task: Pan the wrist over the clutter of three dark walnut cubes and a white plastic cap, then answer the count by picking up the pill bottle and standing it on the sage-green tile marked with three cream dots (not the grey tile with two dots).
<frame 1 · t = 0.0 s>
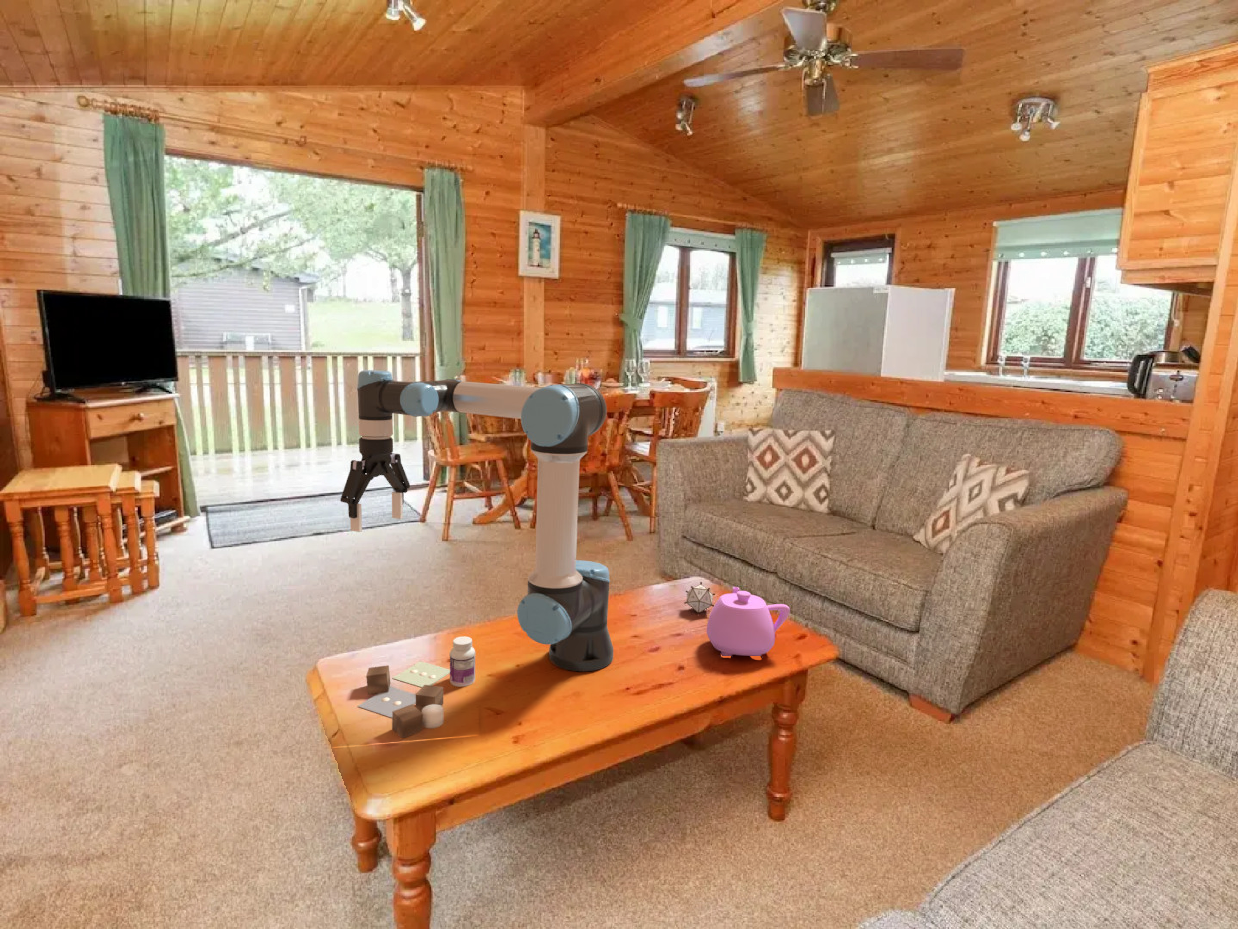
hand: (377, 524, 165), 28 cm above the table, fingers open, 13 cm apart
white cap: (432, 724, 133), on the table
pad two: (391, 703, 139), on the table
cube a: (429, 709, 138), on the table
pill bottle: (462, 682, 149), on the table
cube b: (402, 717, 131), point 2 cm above the table, tilted 93°
cube c: (379, 688, 144), on the table, tilted 6°, touching pad two
pad three: (423, 675, 151), on the table
game die: (698, 612, 194), on the table
teapot: (744, 647, 172), on the table
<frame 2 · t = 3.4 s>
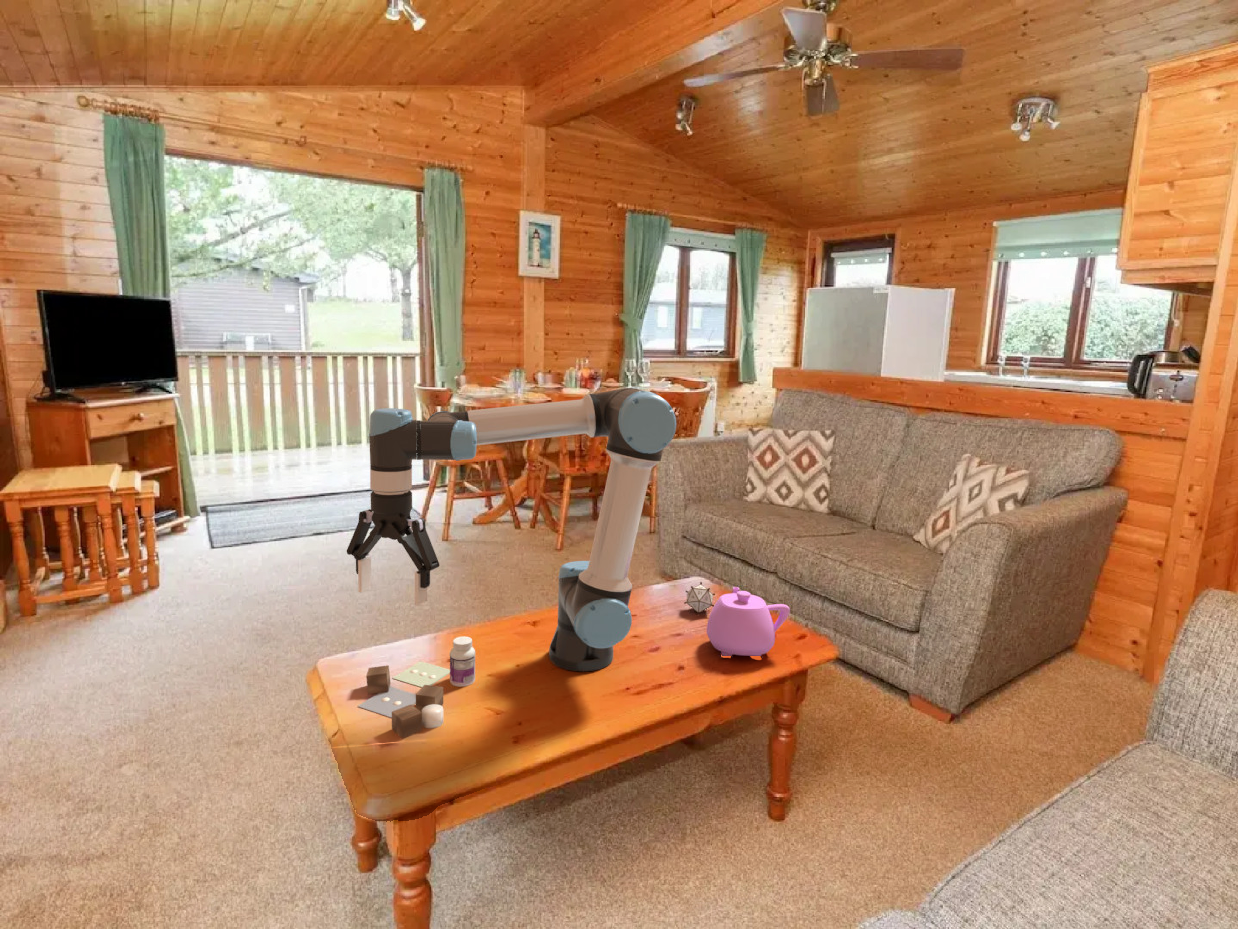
hand: (392, 596, 135), 23 cm above the table, fingers open, 13 cm apart
nothing on the table moved.
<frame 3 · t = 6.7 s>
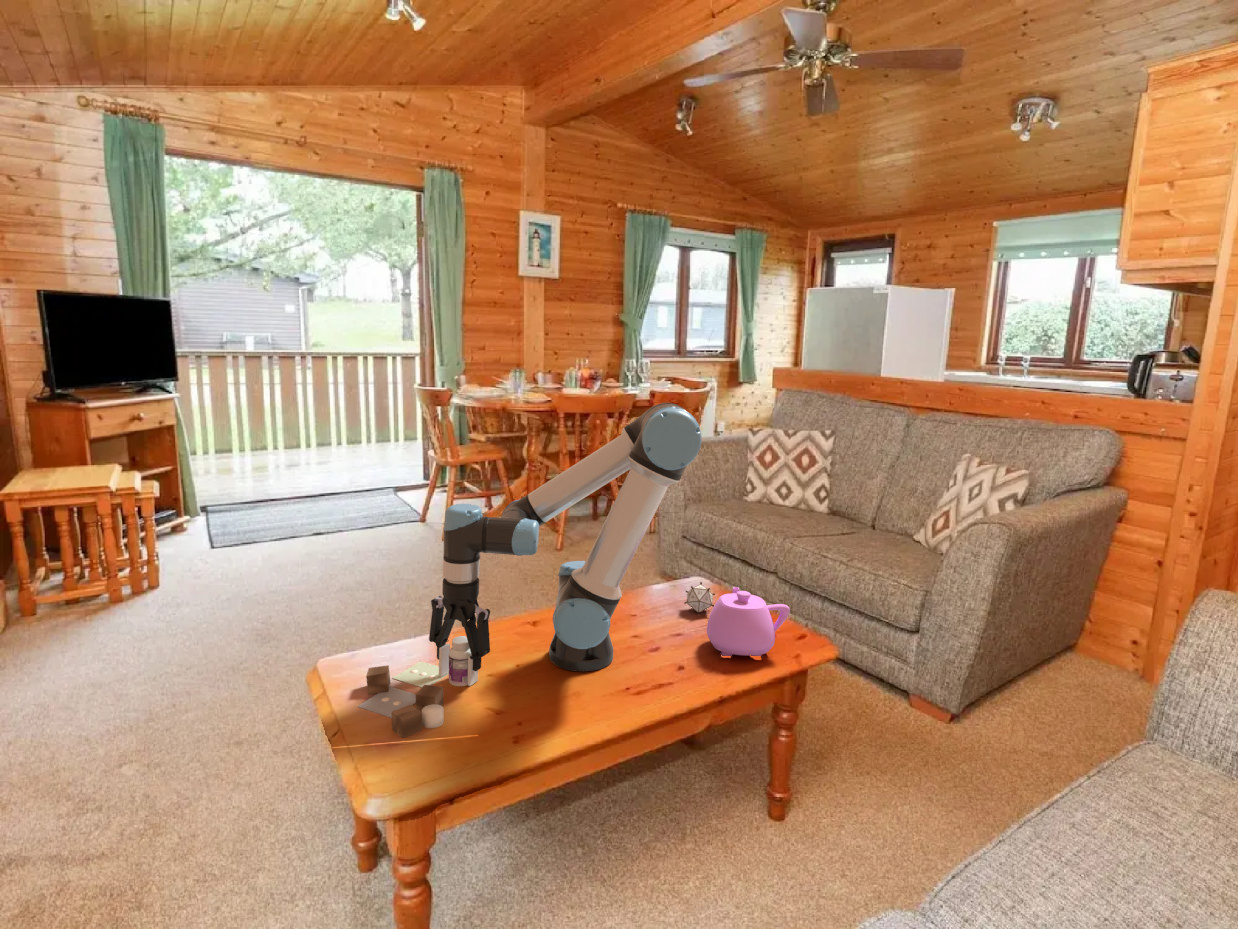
hand: (458, 678, 149), 1 cm above the table, fingers open, 7 cm apart
pill bottle: (461, 682, 149), on the table, touching gripper
everything else where it was.
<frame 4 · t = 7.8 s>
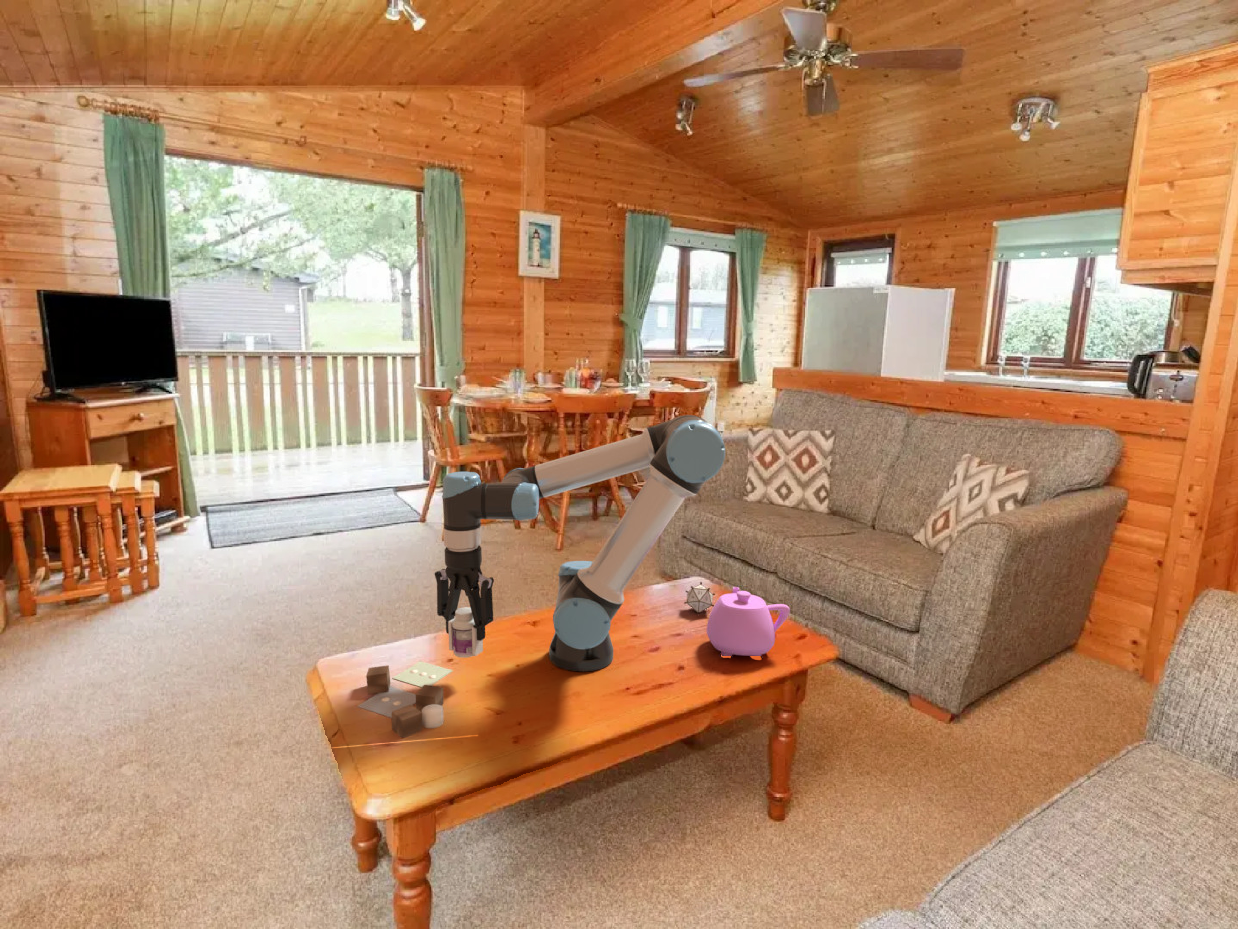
hand: (466, 650, 148), 7 cm above the table, fingers closed on pill bottle, 5 cm apart
pill bottle: (465, 653, 148), point 6 cm above the table, touching gripper
everything else where it was.
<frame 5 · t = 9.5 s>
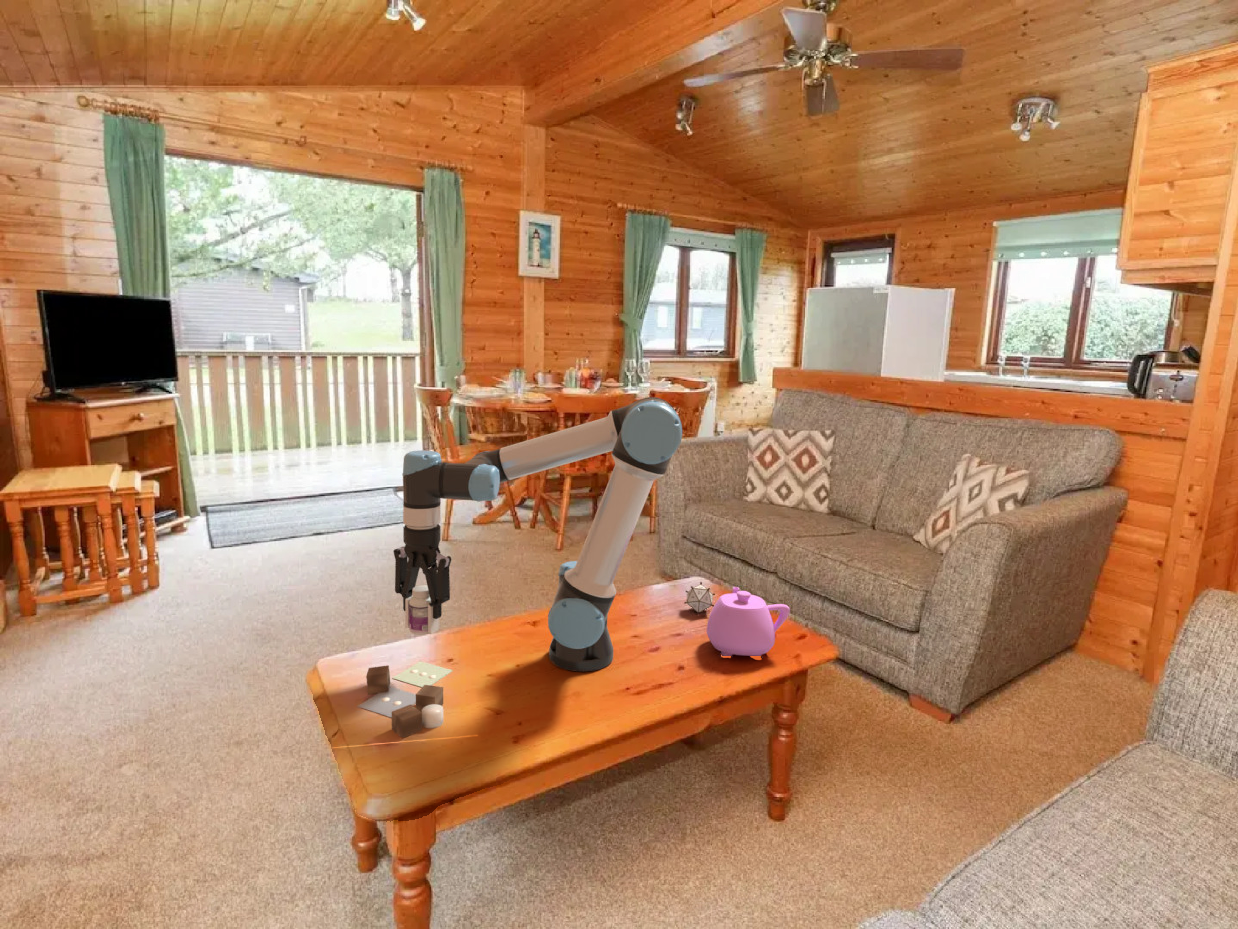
hand: (422, 628, 149), 11 cm above the table, fingers closed on pill bottle, 5 cm apart
pill bottle: (422, 631, 149), point 10 cm above the table, touching gripper
everything else where it was.
when the fingers open (2 cm above the table, at t = 11.3 s): pill bottle stays where it is, resting on pad three.
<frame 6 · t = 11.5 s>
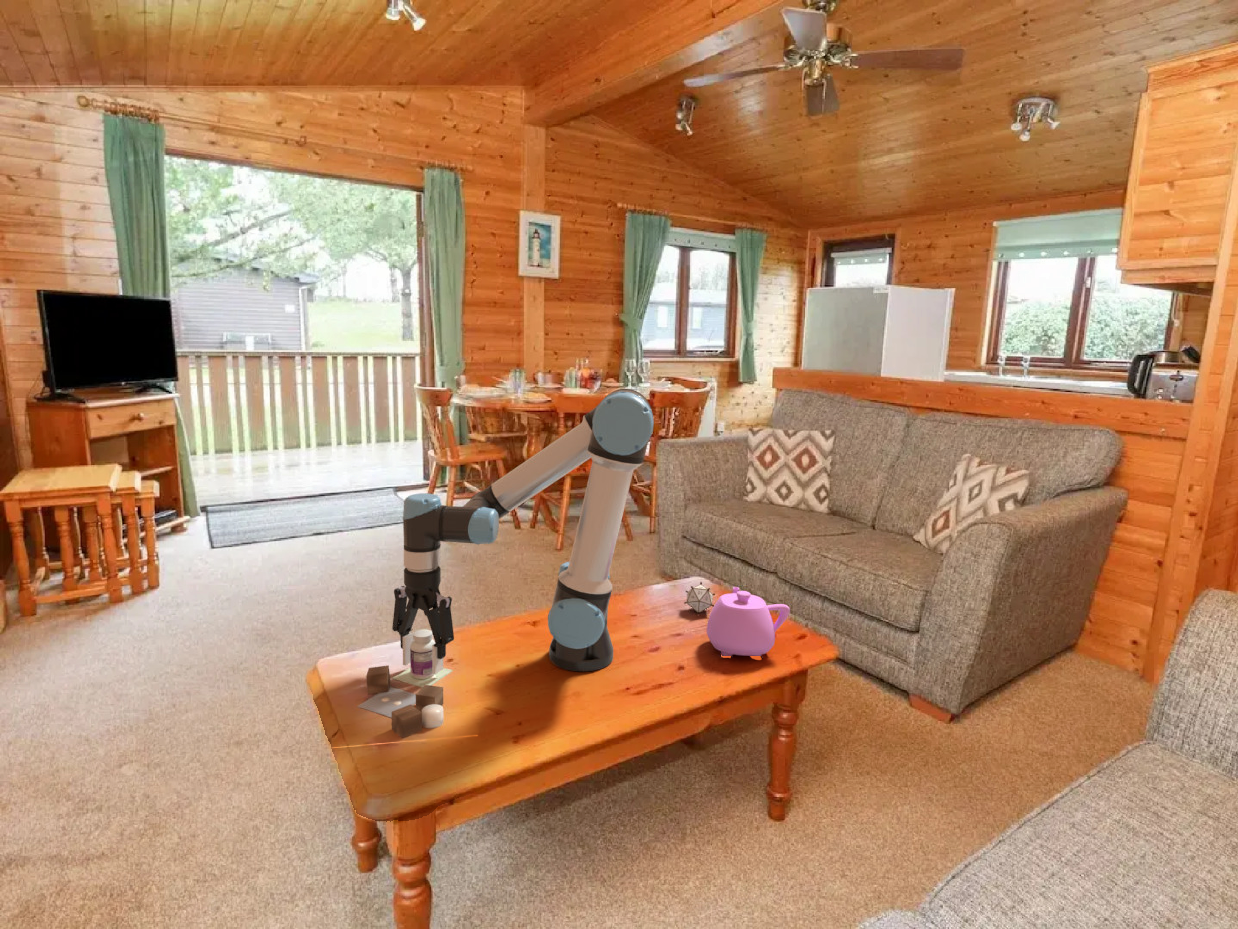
hand: (423, 666, 150), 2 cm above the table, fingers open, 7 cm apart
pill bottle: (423, 675, 151), resting on pad three
everything else where it was.
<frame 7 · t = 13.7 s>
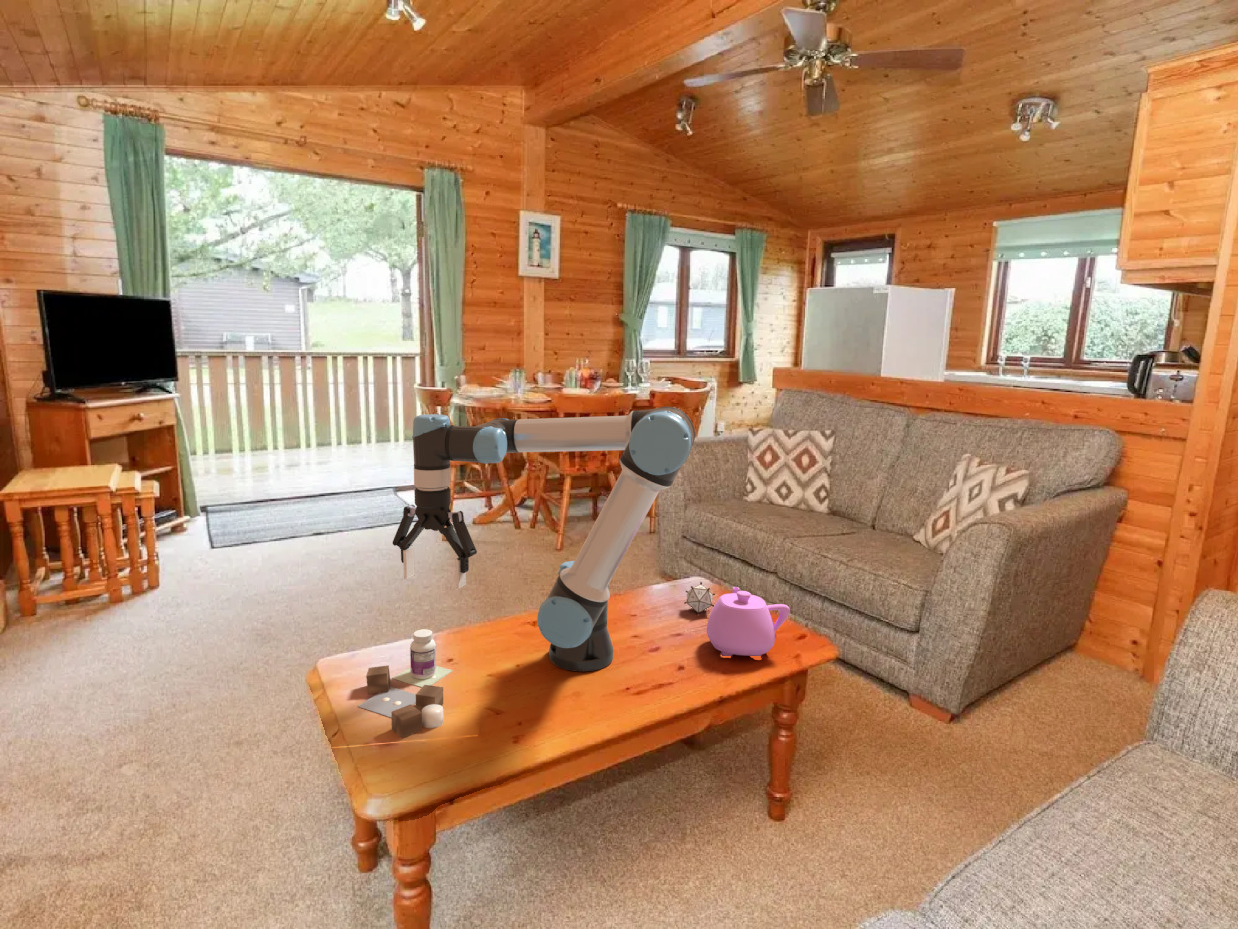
hand: (434, 581, 151), 20 cm above the table, fingers open, 13 cm apart
nothing on the table moved.
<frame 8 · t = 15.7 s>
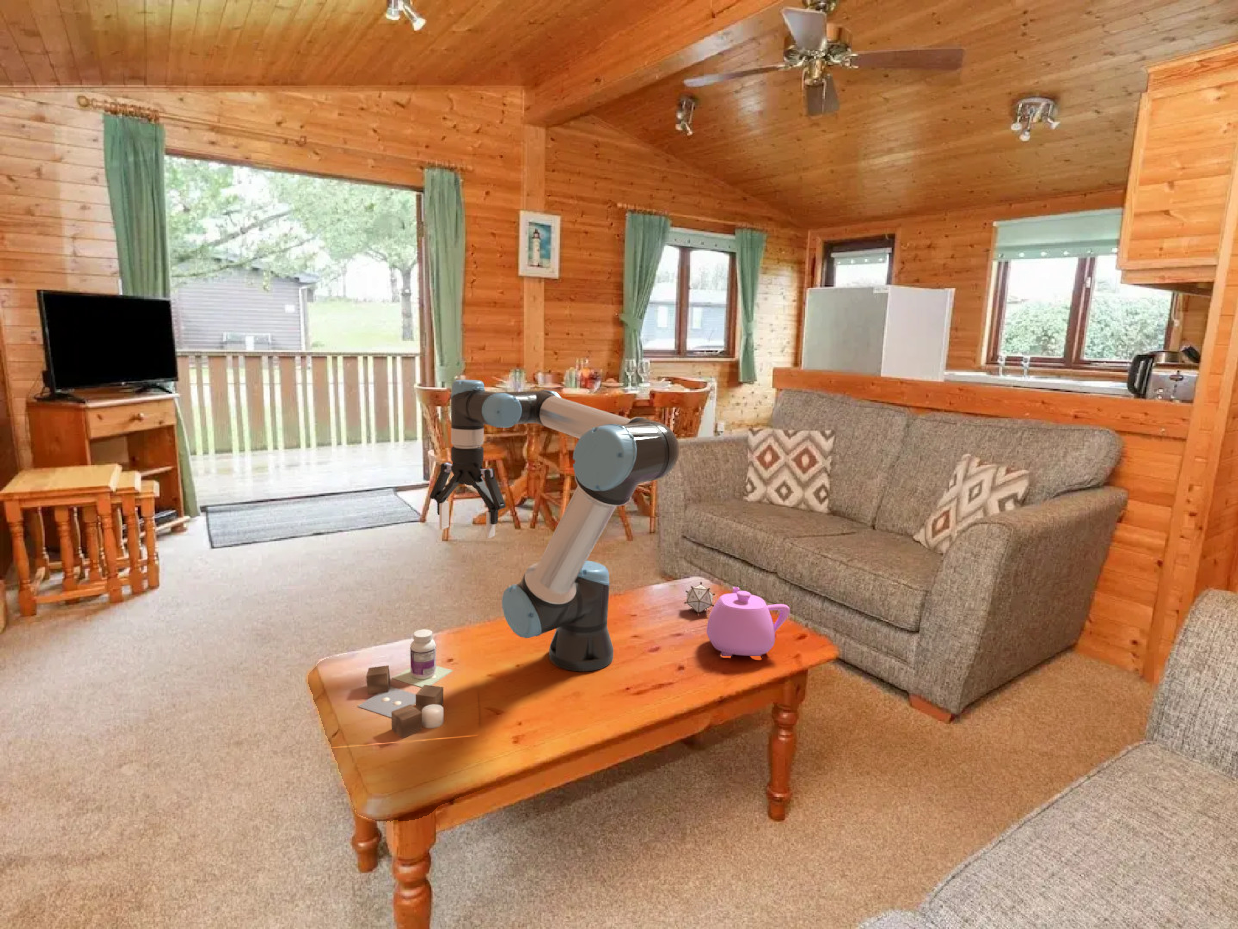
hand: (467, 532, 166), 27 cm above the table, fingers open, 13 cm apart
nothing on the table moved.
at the end: pill bottle inside the target area on the pad three (0.1 cm from its centre), point 0.2 cm above the pad three's base; pill bottle tilted 0°; the gripper is holding nothing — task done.
